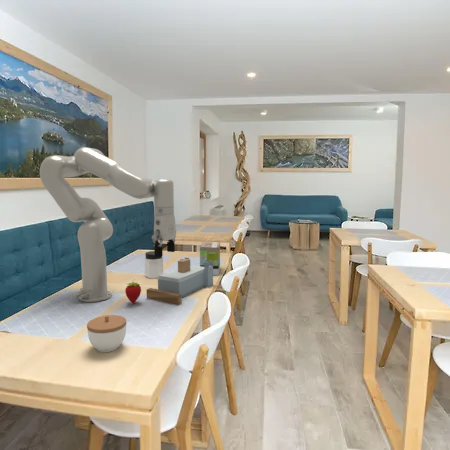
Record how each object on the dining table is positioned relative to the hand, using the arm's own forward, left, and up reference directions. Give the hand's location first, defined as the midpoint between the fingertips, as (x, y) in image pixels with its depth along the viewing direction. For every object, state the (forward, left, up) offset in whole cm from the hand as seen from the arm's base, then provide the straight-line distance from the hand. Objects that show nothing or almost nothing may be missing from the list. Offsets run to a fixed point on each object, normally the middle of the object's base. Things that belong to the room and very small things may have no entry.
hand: (164, 254), depth 142 cm
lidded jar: (-41, -11, -19) cm, 47 cm away
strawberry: (-10, +8, -19) cm, 23 cm away
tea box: (+46, +7, -19) cm, 50 cm away
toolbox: (+14, +1, -19) cm, 23 cm away
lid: (+15, +1, -12) cm, 19 cm away
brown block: (-2, 0, -19) cm, 19 cm away
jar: (+25, +27, -19) cm, 41 cm away
